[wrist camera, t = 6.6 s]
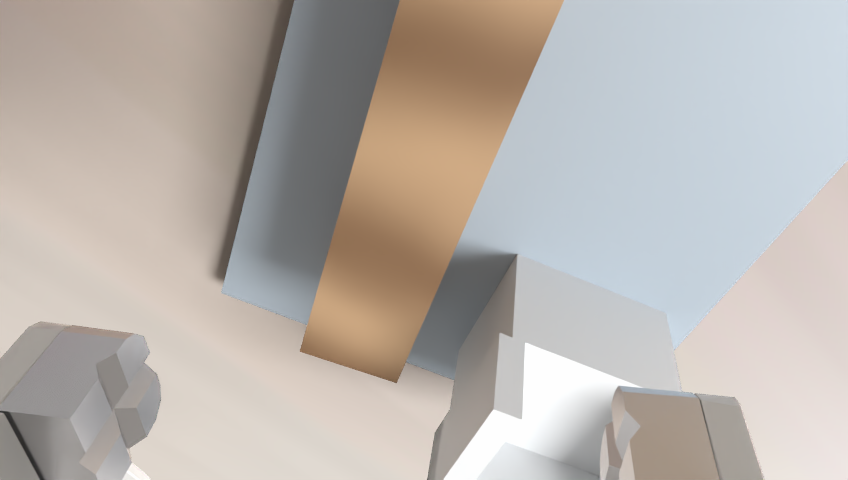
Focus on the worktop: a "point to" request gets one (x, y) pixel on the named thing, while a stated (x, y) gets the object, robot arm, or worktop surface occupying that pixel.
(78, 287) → the worktop surface
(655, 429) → the robot arm
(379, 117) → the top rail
